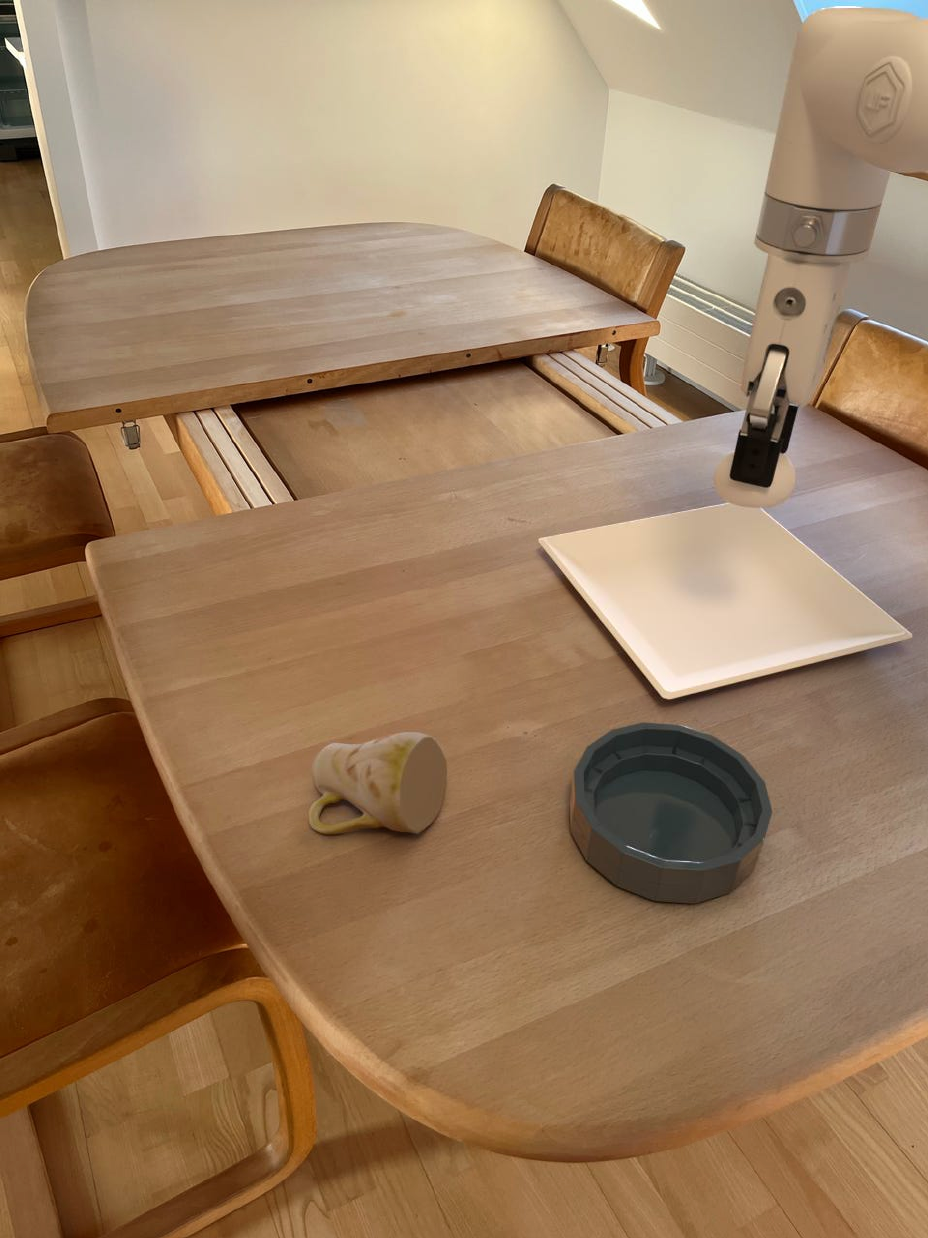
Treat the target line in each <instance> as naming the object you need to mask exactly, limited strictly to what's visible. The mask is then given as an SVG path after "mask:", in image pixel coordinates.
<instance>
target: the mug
mask: <svg viewBox="0 0 928 1238" xmlns="http://www.w3.org/2000/svg"><path fill="white" fill-rule="evenodd" d="M446 759H447V758H446V756H445V754H444V751H443V749H442V747H441V745H440V743H439V742H438V740H437V739H436V738H434V737H433V736H431V735H429V734H426V733H422V732H420V731H419V732H418V731H399V732H395V733H394V732H393V733H391V734H388V735H384V736H382V737H378V738H376V739H373V740H370V741H366V742H362V743H358V744H357V743H356V744H355V743H354V744H352V743H341V742H340V743H339V742H332V743H330V744H328V745H326V746H325V747H323V748H322V749H321V750H320V751H319V752H318V753H317V755H316V756H315V758H314V760H313V762H312V765H311V777H312V781H313V783H314V785H315V787H316V789H317V790H318V792H319V793H320V794H321V795H322V796H321V797H319V798H318V799H317V800H315V801H314V802H313V803H312V804H311V806H310V808H309V810H308V824H309V826H310V827H311V829H312V830H314V831H315V832H317V833H320V834H324V835H338V834H342V833H347V832H350V831H354V830H359V829H360V830H361V829H378V828H380V827H385V828H386V829H388V830H391V831H395V832H402V833H411V834H417V835H418V834H420V833H421V832H423V831H424V830H425V829H426V828H427V827H429V826H431V825H432V824H433V823H434V821H435V820H436V818H437V817H438V815H439V814H440V811H441V809H442V808H441V807H442V805H443V802H444V799H445V794H446V789H447V776H448V762H447V760H446ZM341 801H347V802H349V803H350V804H351V805H353V806H354V807H355V808H357V809H358V810H359V811H360V812H361V813H362V815H361V816H359V817H357V818H353V819H350V820H347V821H343V822H340V823H335V824H325V823H323V822H321V820H320V816H321V813H322V810H323V809H324V808H325V806H326V805H328V804H333V803H338V802H341Z"/></svg>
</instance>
